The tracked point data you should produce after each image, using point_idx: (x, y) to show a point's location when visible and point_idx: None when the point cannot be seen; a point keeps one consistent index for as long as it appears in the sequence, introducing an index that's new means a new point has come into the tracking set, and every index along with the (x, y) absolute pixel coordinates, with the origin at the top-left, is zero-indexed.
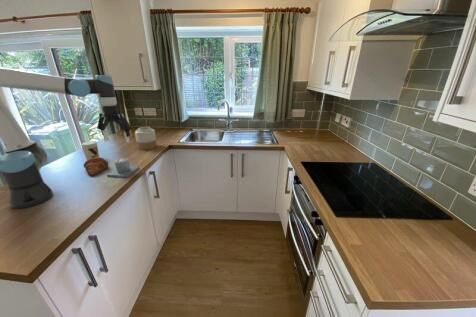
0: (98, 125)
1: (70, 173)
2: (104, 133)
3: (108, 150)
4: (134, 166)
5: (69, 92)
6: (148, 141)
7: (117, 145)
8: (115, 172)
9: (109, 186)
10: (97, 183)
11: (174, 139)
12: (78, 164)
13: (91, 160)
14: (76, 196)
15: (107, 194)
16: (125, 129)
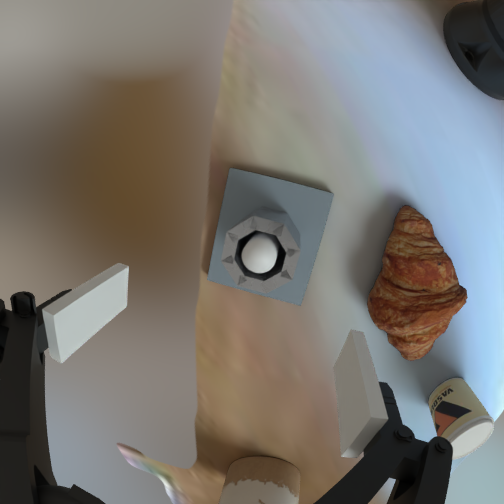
0: (438, 480)
1: (492, 254)
2: (360, 393)
3: None
4: (230, 285)
5: None
6: (239, 483)
7: None
8: (301, 218)
9: (273, 85)
10: (345, 120)
11: (193, 497)
12: (485, 342)
13: (442, 302)
14: (365, 26)
15: (248, 27)
16: (16, 320)
